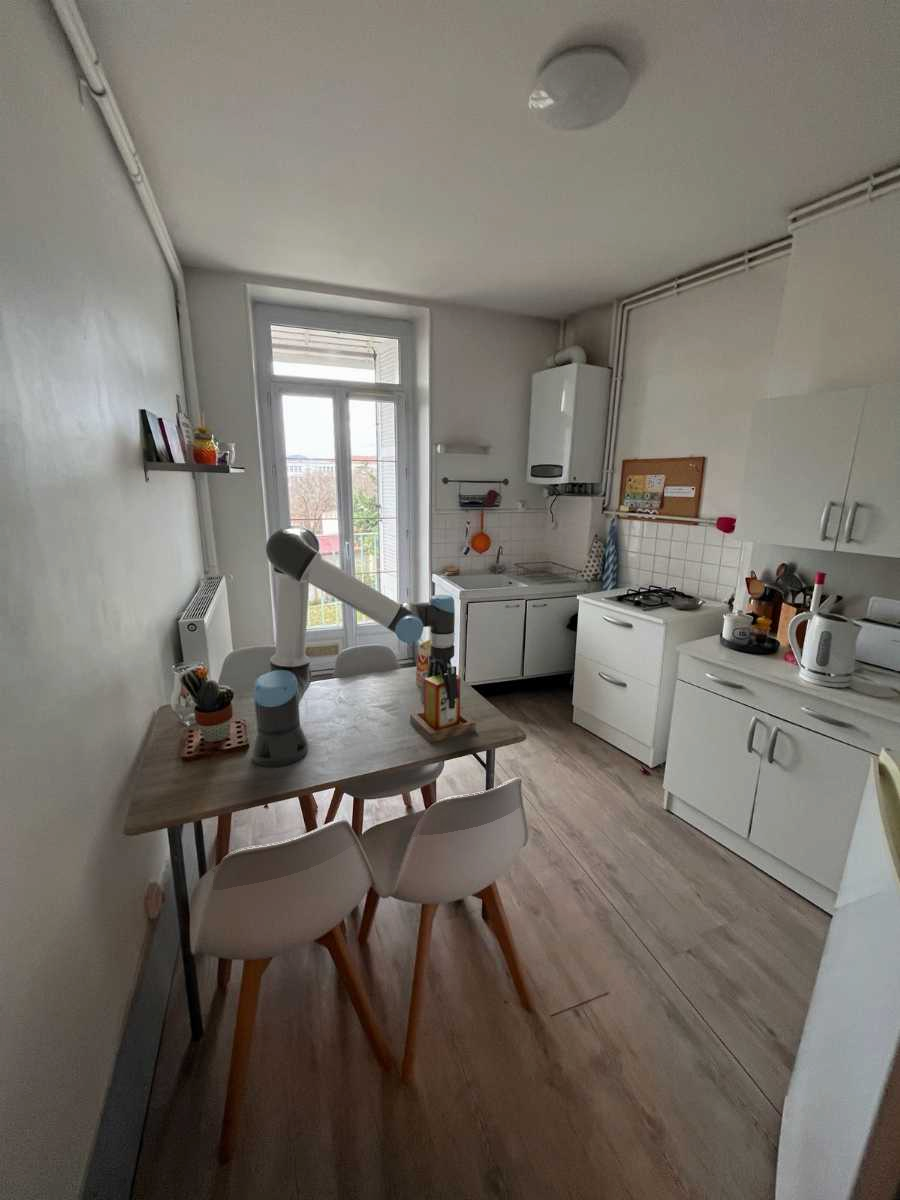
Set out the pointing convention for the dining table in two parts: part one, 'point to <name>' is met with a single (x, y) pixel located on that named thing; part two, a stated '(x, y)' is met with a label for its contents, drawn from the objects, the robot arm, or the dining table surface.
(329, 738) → the dining table surface
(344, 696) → the dining table surface
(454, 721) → the baking soda box
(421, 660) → the milk carton
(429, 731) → the tray
